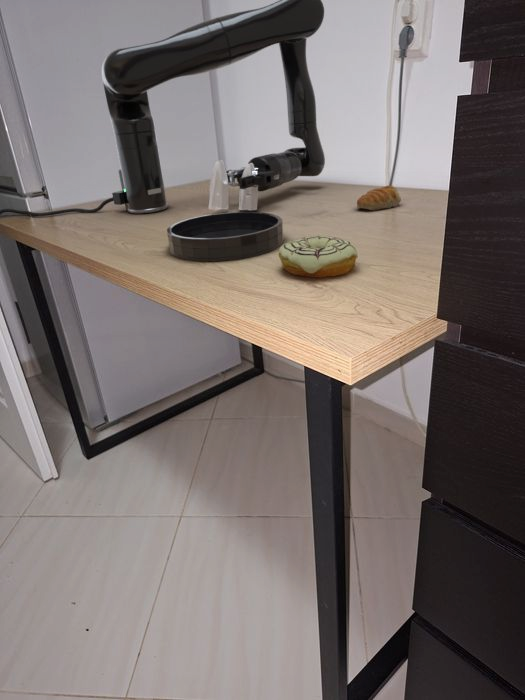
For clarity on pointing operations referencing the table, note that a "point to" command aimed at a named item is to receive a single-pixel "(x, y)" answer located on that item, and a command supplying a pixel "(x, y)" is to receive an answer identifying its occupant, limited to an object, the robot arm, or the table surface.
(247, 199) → the shaker set
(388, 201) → the pastry
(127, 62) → the robot arm
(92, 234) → the table surface
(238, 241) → the pan
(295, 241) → the decorated donut
